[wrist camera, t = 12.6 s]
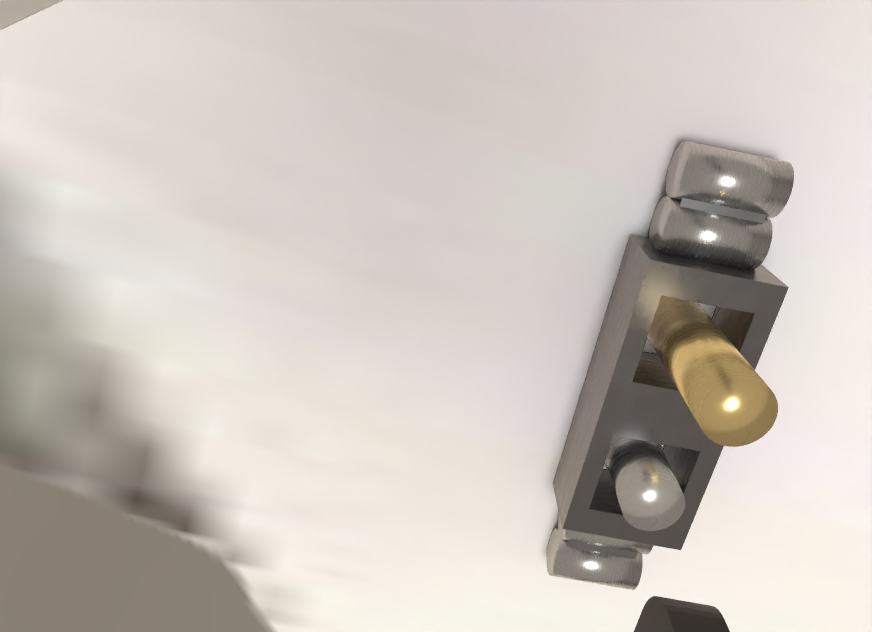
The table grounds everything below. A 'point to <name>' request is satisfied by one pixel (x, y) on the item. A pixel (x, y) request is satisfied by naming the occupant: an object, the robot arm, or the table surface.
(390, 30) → the table surface
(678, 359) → the brass pin
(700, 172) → the dark grey slotted block
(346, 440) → the table surface
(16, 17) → the hinge
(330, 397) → the table surface
